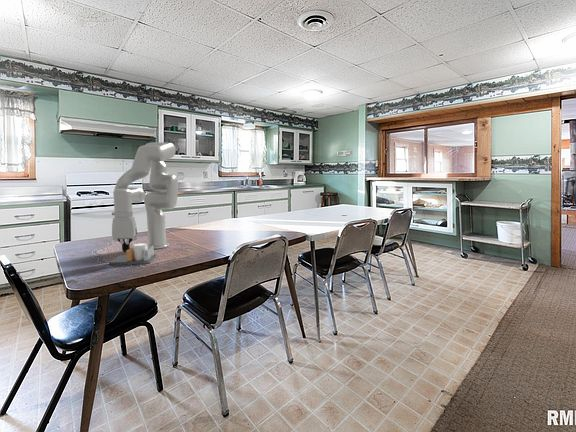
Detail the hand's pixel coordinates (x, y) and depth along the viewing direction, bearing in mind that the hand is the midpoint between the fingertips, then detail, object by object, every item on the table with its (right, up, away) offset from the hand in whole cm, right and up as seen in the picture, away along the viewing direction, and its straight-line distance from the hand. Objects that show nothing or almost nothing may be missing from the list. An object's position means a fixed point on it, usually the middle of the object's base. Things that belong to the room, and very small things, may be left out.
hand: (126, 251), depth 150 cm
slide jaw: (+3, -3, +1) cm, 4 cm away
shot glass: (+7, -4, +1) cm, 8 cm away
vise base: (+3, -5, +1) cm, 6 cm away
